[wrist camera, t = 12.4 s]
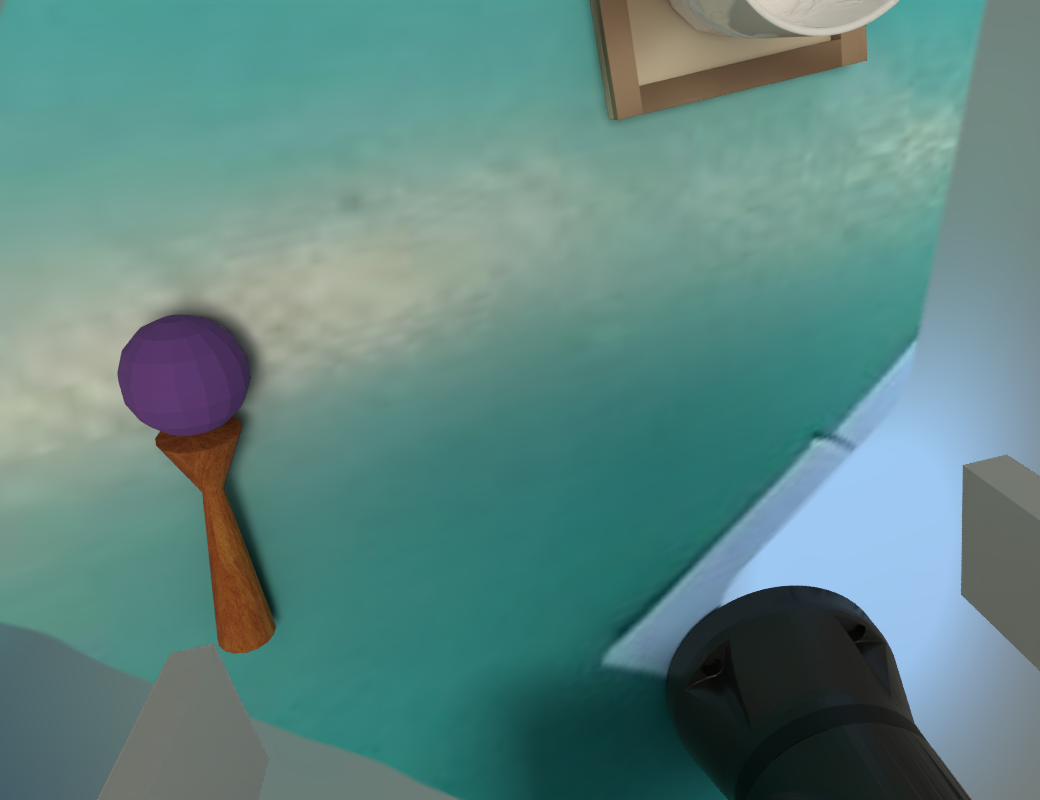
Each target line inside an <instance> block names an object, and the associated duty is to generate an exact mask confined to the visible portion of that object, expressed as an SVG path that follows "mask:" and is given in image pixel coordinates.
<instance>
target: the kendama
mask: <svg viewBox="0 0 1040 800" xmlns="http://www.w3.org/2000/svg"><path fill="white" fill-rule="evenodd" d="M118 381H119V385H120V388H121V392H122V395H123V399H124V402H125V404H126V406H127V407H128V408H129V409H130V410H131V411H132V412H133V413H134V414H135V415H136V417H137V418H138V419H139V420H140V421H141V422H143V423H145V424H146V425H148V426H150V427H152V428H154V429H157V430H159V431H160V433H159V434H158V436H157V437H156V438H155V440H156V445H157V447H158V448H159V449H160V450H161V451H162V452H163V453H164V454H165V455H166V456H167V457H168V458H169V459H170V460H171V461H172V462H173V463H174V464H175V465H176V466H177V467H178V468H179V469H180V470H181V471H182V472H183V473H184V474H185V475H186V476H187V477H188V478H189V479H190V480H191V481H192V482H193V483H194V484H195V485H196V486H197V487H198V489H199V490H200V491H201V492H202V494H203V504H204V513H205V523H206V532H207V542H208V551H209V561H210V571H211V580H212V590H213V599H214V609H215V618H216V628H217V637H218V642H219V646H220V647H221V648H222V649H223V650H225V651H227V652H231V653H247V652H249V651H252V650H255V649H258V648H259V647H261V646H262V645H264V644H265V643H267V642H268V641H269V640H270V639H271V637H272V636H273V635H274V632H275V628H276V625H275V622H274V619H273V617H272V614H271V611H270V609H269V606H268V604H267V601H266V598H265V596H264V593H263V590H262V588H261V585H260V582H259V580H258V577H257V574H256V572H255V569H254V566H253V564H252V561H251V558H250V556H249V553H248V551H247V548H246V545H245V543H244V540H243V537H242V535H241V532H240V529H239V527H238V524H237V521H236V519H235V516H234V513H233V511H232V508H231V506H230V503H229V500H228V498H227V495H226V492H225V490H224V484H225V481H226V478H227V474H228V471H229V468H230V465H231V461H232V458H233V455H234V452H235V448H236V445H237V442H238V439H239V435H240V432H241V429H242V424H241V422H240V420H239V419H237V418H235V417H233V415H234V414H235V413H236V411H237V410H238V409H239V408H240V407H241V405H242V403H243V401H244V399H245V397H246V393H247V389H248V385H249V382H250V373H249V368H248V363H247V358H246V355H245V353H244V351H243V350H242V348H241V347H240V345H239V344H238V342H237V341H236V340H235V338H234V337H233V336H232V334H231V333H230V331H228V330H226V329H225V328H223V327H221V326H219V325H218V324H216V323H214V322H213V321H211V320H209V319H206V318H204V317H198V316H187V315H171V316H167V317H163V318H161V319H159V320H156V321H154V322H151V323H149V324H147V325H145V326H143V327H141V328H140V329H139V330H138V331H137V332H136V334H135V335H134V336H133V337H132V339H131V340H130V341H129V342H128V344H127V345H126V346H125V347H124V349H123V350H122V353H121V358H120V363H119V368H118Z"/></svg>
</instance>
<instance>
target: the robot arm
mask: <svg viewBox="0 0 1040 800" xmlns="http://www.w3.org/2000/svg"><path fill="white" fill-rule="evenodd" d="M962 502H963V503H962V573H961V574H962V576H961V595H962V596H963V597H964V598H966V600H967V601H968V602H969V603H970V604H972V605H973V606H974V607H975V608H976V609H977V610H978V611H979V612H980V613H981V614H982V615H983V616H984V617H985V618H986V619H987V620H988V621H989V622H990V623H991V624H992V625H993V626H994V627H995V628H996V629H997V630H998V631H999V632H1000V633H1001V634H1002V635H1003V636H1004V637H1005V638H1006V639H1008V640H1009V641H1010V642H1011V643H1012V644H1013V645H1014V646H1015V647H1016V648H1017V649H1018V650H1019V651H1020V652H1021V653H1022V654H1023V655H1024V656H1025V657H1026V658H1027V659H1028V660H1029V661H1030V662H1031V663H1032V664H1033V665H1034V666H1036V667H1037V669H1038V670H1039V671H1040V476H1039V475H1038V474H1036V473H1034V472H1033V471H1031V470H1030V469H1028V468H1026V467H1025V466H1024V465H1022V464H1020V463H1019V462H1017V461H1016V460H1014V459H1013V458H1011V457H1009V456H1008V455H1004V456H999V457H995V458H991V459H987V460H982V461H978V462H974V463H970V464H966V465H963V501H962ZM666 699H667V705H668V709H669V712H670V715H671V717H672V720H673V723H674V726H675V729H676V731H677V734H678V736H679V738H680V741H681V742H682V744H683V746H684V747H685V749H686V751H687V752H688V753H689V755H690V756H691V757H692V758H693V759H694V761H695V762H696V763H697V764H698V765H699V766H700V768H701V769H702V770H703V771H704V772H705V773H706V774H707V776H708V777H709V778H710V779H711V780H712V781H713V783H714V784H715V785H716V786H717V787H718V788H719V789H720V791H721V792H722V793H723V794H724V795H725V796H726V798H727V799H728V800H971V798H970V797H969V796H968V794H967V793H966V792H965V790H964V789H963V788H962V786H961V785H960V784H959V782H958V781H957V780H956V778H955V777H954V776H953V774H952V773H951V772H950V770H949V769H948V768H947V766H946V765H945V764H944V762H943V761H942V760H941V758H940V757H939V756H938V755H937V753H936V752H935V750H934V749H933V748H932V747H931V746H930V744H929V743H928V742H927V740H926V739H925V737H924V736H923V735H922V733H921V732H920V731H919V729H918V728H917V726H916V725H915V724H914V720H913V717H912V714H911V710H910V707H909V704H908V701H907V697H906V694H905V691H904V688H903V684H902V681H901V678H900V675H899V671H898V668H897V665H896V661H895V658H894V655H893V653H892V651H891V648H890V647H889V645H888V643H887V641H886V640H885V638H884V636H883V635H882V633H881V632H880V631H879V630H878V628H877V627H876V626H875V625H874V623H873V622H872V621H871V620H870V619H869V617H868V616H867V615H866V614H865V612H864V611H863V610H862V609H860V607H858V606H857V605H856V604H855V603H853V602H852V601H850V600H849V599H847V598H845V597H843V596H842V595H839V594H837V593H835V592H832V591H829V590H825V589H822V588H817V587H810V586H780V587H774V588H768V589H763V590H760V591H756V592H753V593H750V594H747V595H745V596H742V597H740V598H737V599H735V600H733V601H731V602H729V603H727V604H725V605H724V606H722V607H720V608H719V609H717V610H716V611H714V612H713V613H711V614H710V615H709V616H707V617H706V618H705V619H704V620H703V621H701V622H700V623H699V624H698V625H697V626H696V627H695V628H694V629H693V630H692V631H691V632H690V634H689V635H688V636H687V637H686V638H685V640H684V641H683V643H682V644H681V645H680V647H679V649H678V650H677V652H676V654H675V656H674V658H673V660H672V663H671V665H670V668H669V672H668V676H667V682H666ZM268 761H269V758H268V756H267V754H266V752H265V750H264V748H263V745H262V743H261V741H260V739H259V737H258V735H257V733H256V731H255V729H254V727H253V725H252V723H251V720H250V718H249V716H248V714H247V712H246V710H245V708H244V706H243V704H242V702H241V700H240V698H239V695H238V693H237V691H236V689H235V687H234V685H233V683H232V681H231V679H230V677H229V675H228V673H227V670H226V668H225V666H224V664H223V662H222V660H221V658H220V656H219V654H218V652H217V650H216V648H215V645H214V644H210V645H205V646H201V647H197V648H193V649H189V650H184V651H180V652H176V653H172V654H170V655H169V657H168V659H167V661H166V663H165V665H164V667H163V669H162V671H161V673H160V675H159V677H158V679H157V681H156V683H155V685H154V687H153V689H152V691H151V693H150V695H149V697H148V699H147V701H146V703H145V705H144V707H143V709H142V711H141V713H140V715H139V717H138V719H137V721H136V723H135V725H134V727H133V729H132V731H131V733H130V735H129V737H128V739H127V741H126V743H125V745H124V747H123V749H122V751H121V753H120V755H119V757H118V759H117V761H116V763H115V765H114V767H113V769H112V771H111V773H110V775H109V777H108V779H107V781H106V783H105V785H104V787H103V789H102V791H101V793H100V795H99V797H98V799H97V800H258V798H259V794H260V790H261V787H262V783H263V779H264V776H265V772H266V768H267V764H268Z"/></svg>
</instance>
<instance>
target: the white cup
mask: <svg viewBox="0 0 1040 800" xmlns="http://www.w3.org/2000/svg"><path fill="white" fill-rule="evenodd" d="M669 1H670V4H671V6H672V8H673V9H674V10H675V11H676V12H677V13H678V14H679V15H680V16H681V17H682V18H683V19H685V20H686V21H687V22H688V23H689V24H690V25H691V26H692V27H693V28H694V29H695V30H697V31H701V32H705V33H710V34H714V35H718V36H722V37H726V38H729V37H737V38H751V39H754V38H764V39H774V38H791V37H811V36H830V35H836V34H841V33H845V32H848V31H851V30H854V29H857V28H859V27H861V26H864V25H866V24H868V23H869V22H871V21H873V20H875V19H876V18H878V17H879V16H881V15H882V14H884V13H885V12H886V11H888V10H889V9H890V8H891V7H893V6H894V5H895V4H896V3H897V2H898V1H899V0H669Z"/></svg>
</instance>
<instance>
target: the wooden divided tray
mask: <svg viewBox="0 0 1040 800" xmlns="http://www.w3.org/2000/svg"><path fill="white" fill-rule="evenodd" d="M590 4H591V10H592V17H593V23H594V29H595V35H596V41H597V47H598V54H599V60H600V66H601V72H602V78H603V84H604V91H605V97H606V103H607V109H608V115H609V119H615V120H620V119H624V118H629V117H633V116H637V115H641V114H645V113H649V112H654V111H658V110H662V109H666V108H670V107H675V106H679V105H683V104H687V103H691V102H696V101H700V100H704V99H708V98H712V97H716V96H721V95H725V94H729V93H733V92H737V91H742V90H746V89H750V88H754V87H758V86H763V85H767V84H771V83H775V82H779V81H783V80H788V79H792V78H796V77H800V76H804V75H809V74H813V73H817V72H821V71H825V70H830V69H834V68H838V67H842V66H846V65H850V64H855V63H859V62H863V61H867V41H866V25H864V26H861V27H859V28H857V29H854V30H851V31H848V32H845V33H841V34H836V35H830V36H811V37H791V38H774V39H764V38H754V39H751V38H737V37H729V38H726V37H722V36H718V35H714V34H710V33H705V32H701V31H697V30H695V29H694V28H693V27H692V26H691V25H690V24H689V23H688V22H687V21H686V20H685V19H683V18H682V17H681V16H680V15H679V14H678V13H677V12H676V11H675V10H674V9H673V8H672V6H671V4H670V1H669V0H590Z"/></svg>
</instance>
